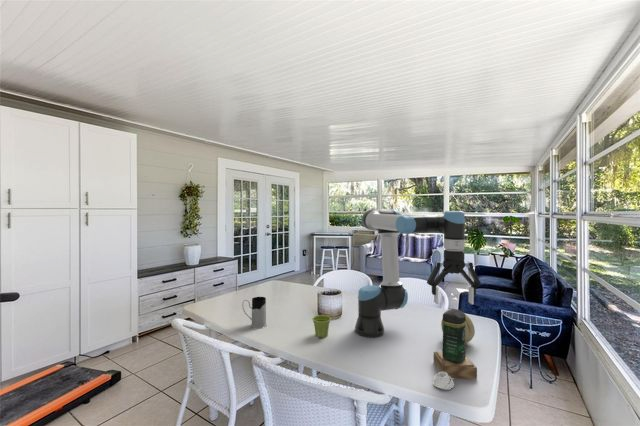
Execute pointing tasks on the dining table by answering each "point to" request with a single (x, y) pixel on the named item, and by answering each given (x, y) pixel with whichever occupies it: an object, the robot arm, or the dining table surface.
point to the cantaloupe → (467, 329)
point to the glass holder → (258, 312)
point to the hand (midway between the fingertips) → (453, 303)
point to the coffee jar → (454, 335)
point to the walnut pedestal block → (455, 367)
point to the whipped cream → (443, 381)
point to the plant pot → (321, 325)
